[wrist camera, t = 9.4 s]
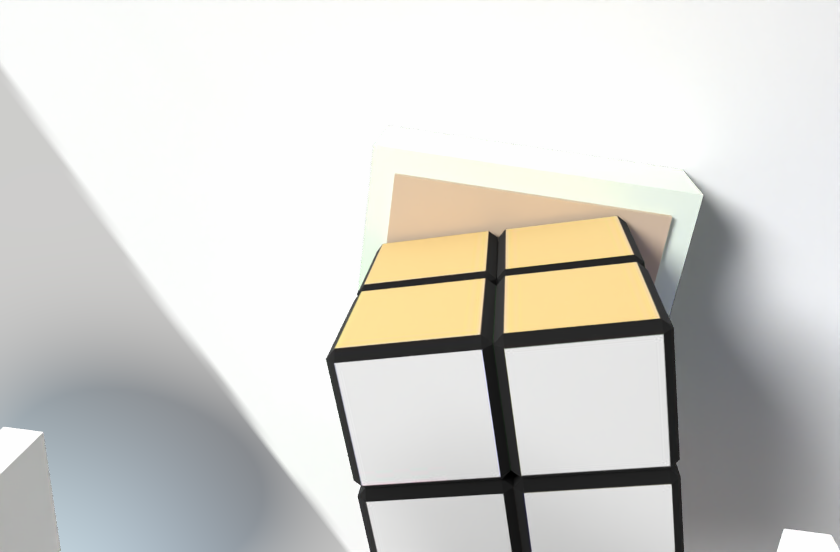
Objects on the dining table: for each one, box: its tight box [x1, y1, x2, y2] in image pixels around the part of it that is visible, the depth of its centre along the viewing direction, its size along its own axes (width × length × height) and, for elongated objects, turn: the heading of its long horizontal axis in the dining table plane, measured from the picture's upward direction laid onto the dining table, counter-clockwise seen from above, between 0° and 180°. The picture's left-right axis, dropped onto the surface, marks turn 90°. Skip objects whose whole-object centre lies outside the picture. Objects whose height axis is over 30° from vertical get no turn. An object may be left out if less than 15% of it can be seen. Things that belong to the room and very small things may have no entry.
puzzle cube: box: [326, 216, 684, 552], centre depth 28 cm, size 10×10×10 cm
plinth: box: [358, 126, 703, 316], centre depth 34 cm, size 13×13×4 cm
